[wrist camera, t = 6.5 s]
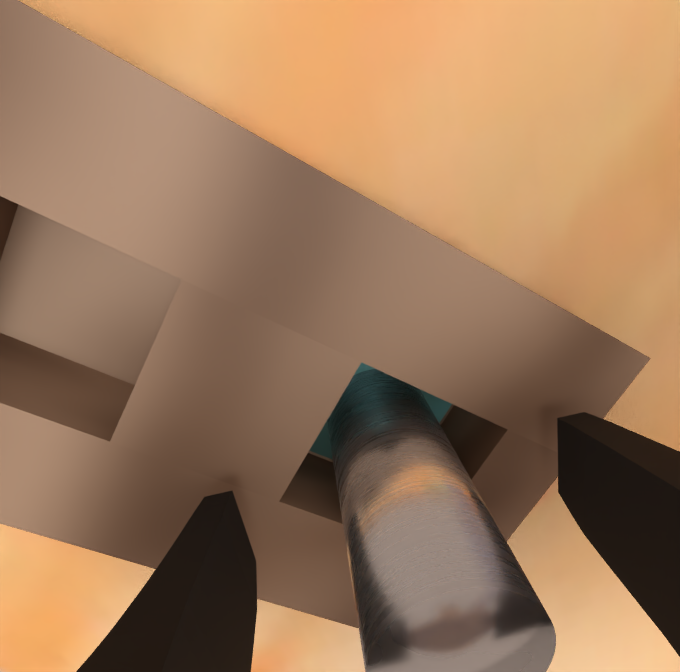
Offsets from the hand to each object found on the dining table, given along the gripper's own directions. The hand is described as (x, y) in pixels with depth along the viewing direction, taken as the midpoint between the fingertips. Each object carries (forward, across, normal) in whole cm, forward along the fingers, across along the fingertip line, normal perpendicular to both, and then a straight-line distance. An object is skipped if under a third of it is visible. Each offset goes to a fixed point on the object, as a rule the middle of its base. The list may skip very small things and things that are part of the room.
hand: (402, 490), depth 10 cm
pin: (+3, 0, 0) cm, 3 cm away
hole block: (+4, +3, -2) cm, 6 cm away
